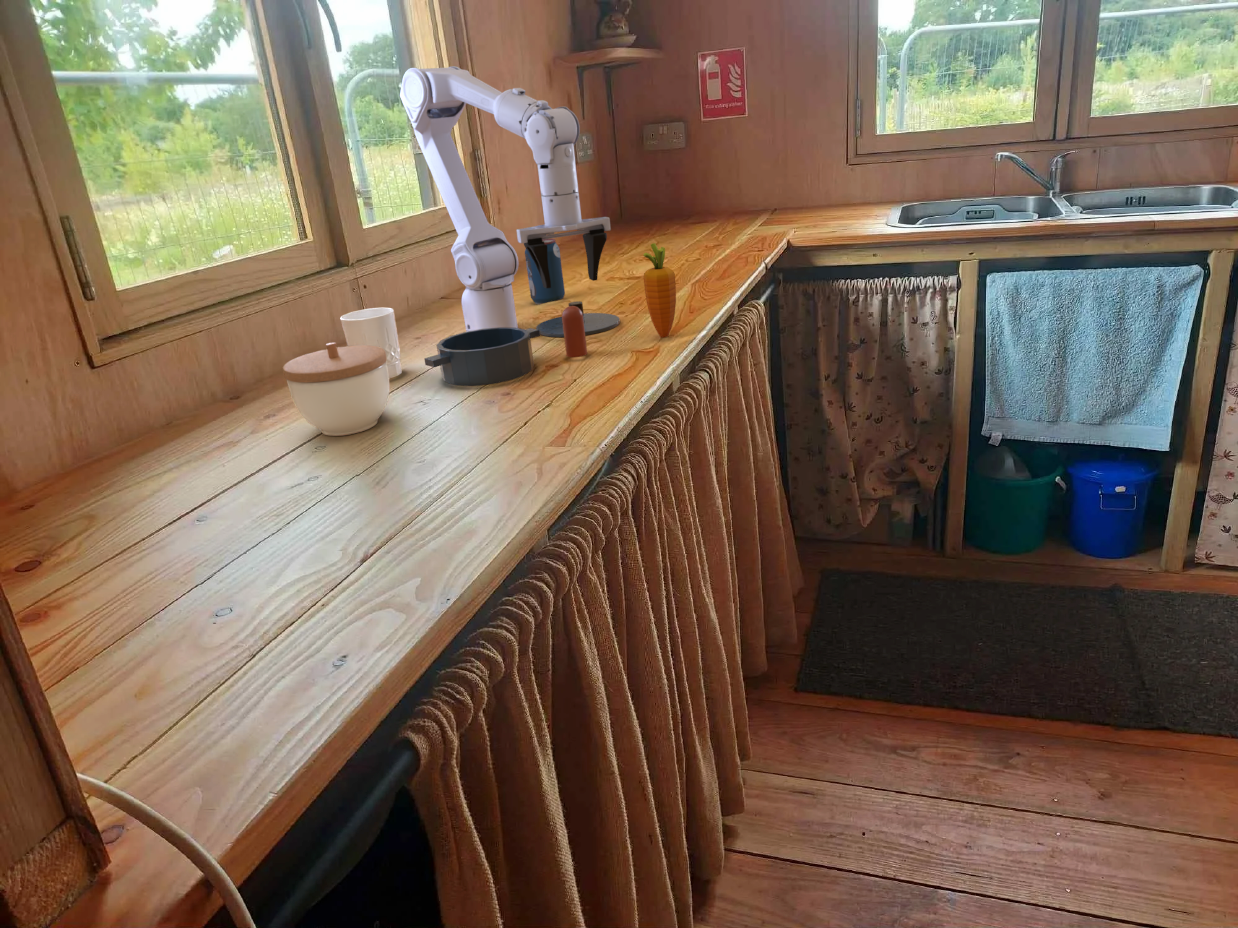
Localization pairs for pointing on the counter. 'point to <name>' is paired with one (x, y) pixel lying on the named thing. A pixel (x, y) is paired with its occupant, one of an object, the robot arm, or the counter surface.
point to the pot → (485, 356)
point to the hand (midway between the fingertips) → (570, 283)
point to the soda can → (555, 272)
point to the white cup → (374, 333)
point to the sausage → (574, 332)
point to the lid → (591, 323)
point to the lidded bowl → (340, 387)
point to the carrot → (660, 292)
